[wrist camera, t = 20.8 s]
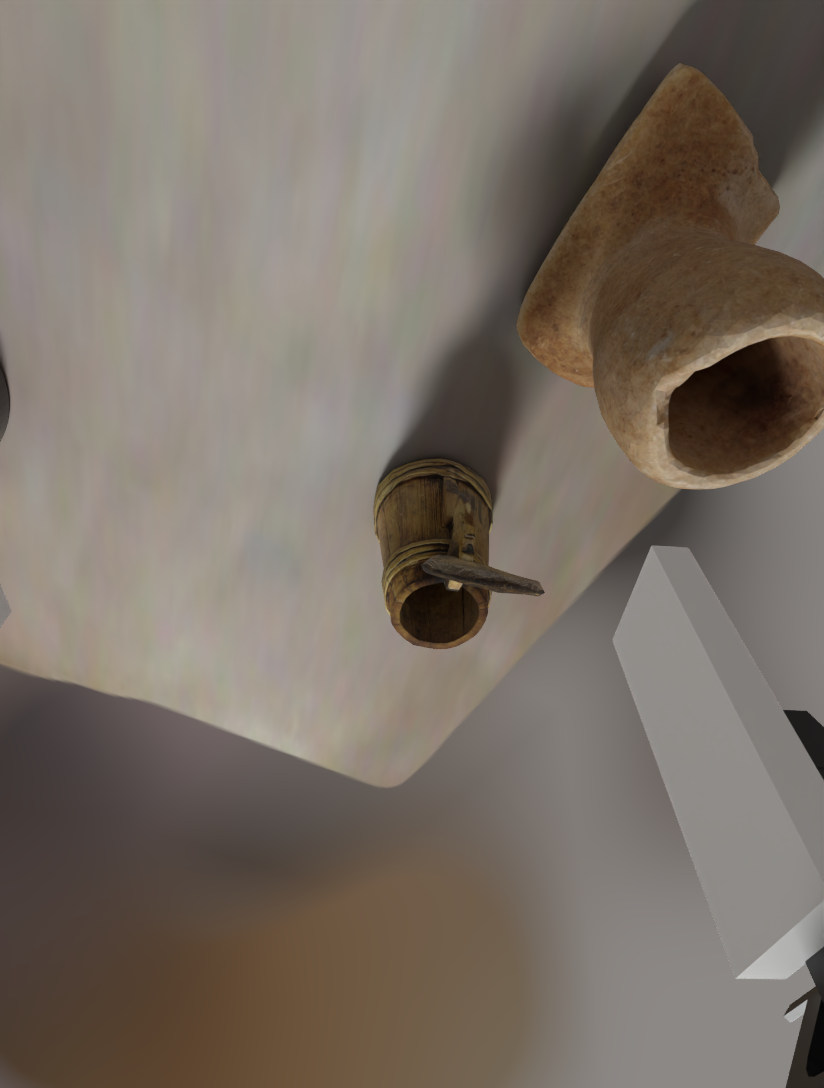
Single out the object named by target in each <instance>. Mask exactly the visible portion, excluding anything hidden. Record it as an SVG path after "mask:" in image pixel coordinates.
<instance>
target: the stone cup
mask: <svg viewBox="0 0 824 1088" xmlns="http://www.w3.org/2000/svg"><path fill="white" fill-rule="evenodd" d="M779 209H780V206H779V200H778V196H777V195H776V194H775V193H774V191H773V190H772V189H771V187H770V185H769V183H768V181H767V180H766V179H765V178H764V176H763V175H762V174H761V172H760V171H759V155H758V153H757V151H756V149H755V147H754V143H753V135H752V134H751V132H750V131H749V129H748V128H747V126H746V125H745V123H744V122H743V120H742V119H741V117H740V116H739V115H738V113H737V112H736V111H735V109H734V108H733V106H732V105H731V104H730V102H729V101H728V100H727V98H726V97H725V96H724V94H723V93H722V92H721V91H720V90H719V89H718V88H717V87H716V86H715V85H714V84H713V83H712V82H711V81H710V80H709V79H708V78H707V77H706V76H705V75H704V74H703V73H702V72H701V71H699V70H698V69H696V68H695V67H691V66H686V65H684V64H682V63H679V64H677V65H676V66H675V67H674V68H673V69H672V70H670V72H669V73H668V74H667V76H666V77H665V78H664V80H663V81H662V82H661V84H660V85H659V86H658V88H657V89H656V90H655V92H654V93H653V95H652V96H651V98H650V99H649V101H648V102H647V103H646V105H645V107H644V108H643V110H642V112H641V113H640V114H639V116H638V117H637V118H636V119H635V120H634V121H633V123H632V124H631V126H630V127H629V129H628V130H627V132H626V133H625V135H624V136H623V138H622V139H621V141H620V142H619V144H618V145H617V147H616V148H615V150H614V151H613V153H612V154H611V156H610V157H609V159H608V160H607V162H606V164H605V165H604V167H603V169H602V170H601V172H600V173H599V175H598V177H597V178H596V180H595V181H594V183H593V184H592V185H591V187H590V188H589V190H588V191H587V193H586V194H585V196H584V197H583V199H582V200H581V202H580V203H579V205H578V206H577V208H576V209H575V211H574V213H573V214H572V216H571V217H570V219H569V220H568V222H567V224H566V225H565V227H564V228H563V230H562V231H561V233H560V235H559V236H558V238H557V240H556V241H555V243H554V245H553V247H552V248H551V250H550V252H549V254H548V255H547V257H546V259H545V260H544V262H543V264H542V265H541V267H540V269H539V271H538V273H537V274H536V276H535V278H534V280H533V281H532V283H531V285H530V287H529V289H528V291H527V293H526V295H525V298H524V300H523V303H522V306H521V308H520V311H519V315H518V319H517V322H516V325H517V332H518V334H519V336H520V338H521V341H522V344H523V345H524V346H525V347H526V348H527V350H528V351H529V352H530V353H531V354H532V355H533V356H534V357H535V358H536V359H537V360H538V361H539V362H541V363H542V364H543V365H544V366H545V367H547V368H548V369H549V370H551V371H552V372H553V373H555V374H557V375H558V376H560V377H562V378H564V379H567V380H569V381H571V382H573V383H576V384H578V385H581V386H584V387H593V388H595V392H596V396H597V400H598V404H599V408H600V411H601V415H602V417H603V419H604V421H605V423H606V425H607V427H608V429H609V430H610V432H611V434H612V435H613V437H614V438H615V440H616V442H617V443H618V445H619V446H620V448H621V449H622V450H623V452H624V453H625V454H626V456H627V457H628V458H629V460H630V461H631V462H632V463H633V464H634V465H635V466H636V467H637V468H638V469H639V470H640V471H641V472H642V473H644V474H645V475H646V476H648V477H649V478H651V479H653V480H654V481H656V482H659V483H662V484H665V485H668V486H671V487H676V488H682V489H714V488H719V487H725V486H728V485H732V484H735V483H738V482H742V481H745V480H748V479H752V478H755V477H757V476H759V475H761V474H763V473H765V472H767V471H769V470H771V469H773V468H775V467H777V466H779V465H780V464H782V463H783V462H785V461H786V460H788V459H789V458H791V457H792V456H794V455H795V454H796V453H797V452H798V451H799V450H800V449H801V448H803V447H804V446H805V445H806V444H807V443H808V442H809V441H810V440H812V439H813V438H814V437H815V436H816V435H817V434H818V433H819V432H820V431H821V430H822V428H823V427H824V278H823V277H822V276H821V275H820V274H819V273H817V272H816V271H815V270H813V269H812V268H810V267H809V266H807V265H806V264H804V263H803V262H801V261H799V260H797V259H794V258H792V257H790V256H787V255H785V254H783V253H780V252H778V251H774V250H770V249H766V248H763V247H760V246H756V245H755V243H756V242H757V241H758V239H759V238H760V237H761V235H762V234H763V233H764V231H765V230H766V229H767V227H768V226H769V225H770V224H771V223H772V221H773V220H774V219H775V218H776V217H777V215H778V214H779Z"/></svg>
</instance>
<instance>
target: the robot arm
mask: <svg viewBox="0 0 824 1088" xmlns="http://www.w3.org/2000/svg"><path fill="white" fill-rule="evenodd" d="M8 418H9V398H8V391H7V386H6V383H5V379H4V376H3V373H2V370H1V368H0V441H1V439H2V437H3V435H4V433H5V430H6V427H7V423H8ZM10 613H11V609H10V606H9V604H8V602H7V599H6V597H5V594H4V592H3V590H2V587H1V585H0V627H1V626H2V624H3V623H4V621H5V620H6V618H7V617H8V616H9V614H10ZM612 641H613V643H614V646H615V649H616V651H617V654H618V657H619V660H620V663H621V665H622V668H623V670H624V673H625V676H626V679H627V682H628V685H629V687H630V690H631V693H632V696H633V698H634V701H635V704H636V707H637V709H638V712H639V715H640V718H641V720H642V723H643V726H644V729H645V731H646V734H647V737H648V740H649V742H650V745H651V747H652V750H653V753H654V756H655V759H656V761H657V764H658V767H659V770H660V772H661V775H662V778H663V780H664V783H665V786H666V789H667V792H668V794H669V797H670V800H671V803H672V805H673V808H674V811H675V814H676V817H677V819H678V822H679V825H680V828H681V830H682V832H683V836H684V839H685V841H686V844H687V847H688V850H689V852H690V855H691V858H692V860H693V863H694V866H695V869H696V872H697V874H698V877H699V880H700V882H701V885H702V888H703V891H704V894H705V896H706V899H707V902H708V905H709V907H710V910H711V913H712V915H713V918H714V921H715V924H716V927H717V929H718V932H719V935H720V938H721V940H722V943H723V945H724V949H725V951H726V954H727V957H728V960H729V962H730V965H731V968H732V971H733V973H734V976H735V978H736V979H786V978H788V977H789V976H790V975H791V974H792V973H794V972H795V971H797V970H798V969H799V968H800V967H802V966H803V965H804V964H807V967H808V969H809V971H810V974H811V976H812V978H813V980H814V983H815V985H816V987H814V988H813V989H811V990H810V991H809V992H807V993H806V994H804V995H803V996H802V997H800V998H799V999H798V1000H796V1001H795V1002H793V1003H792V1004H791V1005H790V1006H789V1008H788V1009H787V1011H786V1013H785V1015H784V1018H786V1019H787V1020H788V1021H790V1022H793V1021H794V1020H796V1019H797V1018H798V1017H800V1016H801V1015H803V1014H804V1016H803V1020H802V1024H801V1029H800V1032H799V1036H798V1040H797V1044H796V1048H795V1052H794V1056H793V1061H792V1064H791V1069H790V1072H789V1077H788V1080H787V1085H786V1088H824V727H823V726H822V725H821V724H820V723H819V722H818V721H817V720H816V719H815V718H813V717H812V716H811V715H810V714H809V713H808V712H807V711H795V710H782V708H781V706H780V704H779V703H778V701H777V699H776V697H775V696H774V694H773V692H772V691H771V689H770V687H769V685H768V684H767V682H766V680H765V679H764V677H763V675H762V673H761V672H760V670H759V668H758V667H757V665H756V663H755V661H754V660H753V658H752V656H751V655H750V653H749V651H748V649H747V648H746V646H745V644H744V642H743V641H742V639H741V637H740V636H739V634H738V632H737V630H736V629H735V627H734V625H733V624H732V622H731V620H730V618H729V617H728V615H727V613H726V612H725V610H724V608H723V606H722V605H721V603H720V601H719V599H718V598H717V596H716V594H715V593H714V591H713V589H712V587H711V586H710V584H709V582H708V581H707V579H706V577H705V576H704V574H703V572H702V570H701V569H700V567H699V565H698V563H697V562H696V560H695V558H694V557H693V555H692V553H691V551H690V550H689V548H684V547H667V546H651V548H650V551H649V553H648V556H647V558H646V560H645V563H644V565H643V568H642V570H641V572H640V575H639V577H638V580H637V582H636V585H635V587H634V589H633V592H632V594H631V597H630V599H629V601H628V604H627V606H626V609H625V611H624V613H623V616H622V618H621V621H620V623H619V626H618V628H617V630H616V633H615V635H614V638H613V640H612Z"/></svg>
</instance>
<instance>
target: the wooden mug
mask: <svg viewBox="0 0 824 1088" xmlns="http://www.w3.org/2000/svg"><path fill="white" fill-rule="evenodd" d="M492 524H493V513H492V500H491V492H490V491H489V489H488V487H487V485H486V483H485V481H484V479H483V478H482V477H481V476H479V475H478V474H477V473H476V472H475V471H473V470H472V469H471V468H468V467H466V466H464V465H461V464H459V463H456V462H454V461H451V460H446V459H424V460H419V461H415V462H411V463H407V464H405V465H403V466H400V467H398V468H396V469H394V470H392V471H391V472H390V473H389V474H388V475H387V476H386V478H385V479H384V480H383V481H382V482H381V483H380V484H379V485H378V487H377V491H376V495H375V501H374V526H375V534H376V536H377V538H378V541H379V543H380V547H381V554H382V560H383V566H384V571H383V577H382V586H383V592H384V599H385V606H386V610H387V611H388V613H389V615H390V616H391V622H392V625H393V626H394V628H395V629H396V631H397V632H398V633H399V634H400V635H401V636H402V637H403V638H404V639H406V640H407V641H409V642H410V643H412V644H413V645H417V646H422V647H427V648H433V649H448V648H452V647H456V646H458V645H460V644H462V643H464V642H466V641H468V640H469V639H471V638H472V637H474V636H475V635H476V634H477V633H478V632H479V630H480V629H481V628H482V626H483V624H484V623H485V620H486V617H487V614H488V608H489V604H490V600H491V593H492V591H494V592H498V593H513V594H525V595H533V596H540V595H541V594H543V593H545V592H544V590H543V588H542V586H541V585H540V583H539V582H538V581H535V580H531V579H527V578H523V577H520V576H516V575H513V574H510V573H507V572H504V571H501V570H498V569H495V568H492V567H489V566H488V564H489V534H490V532H491V529H492Z"/></svg>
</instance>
